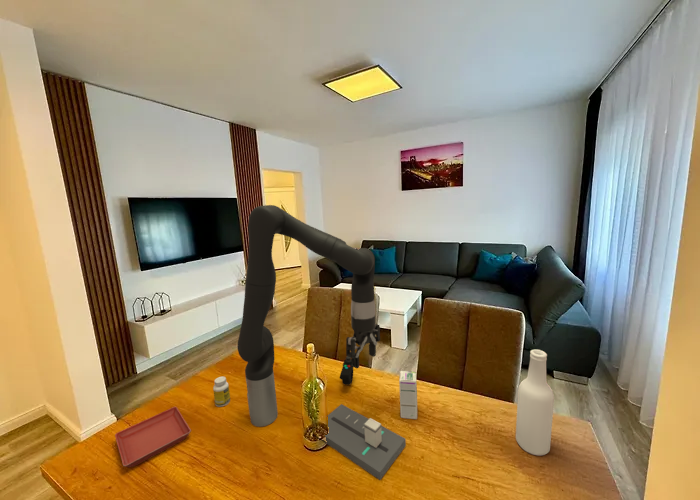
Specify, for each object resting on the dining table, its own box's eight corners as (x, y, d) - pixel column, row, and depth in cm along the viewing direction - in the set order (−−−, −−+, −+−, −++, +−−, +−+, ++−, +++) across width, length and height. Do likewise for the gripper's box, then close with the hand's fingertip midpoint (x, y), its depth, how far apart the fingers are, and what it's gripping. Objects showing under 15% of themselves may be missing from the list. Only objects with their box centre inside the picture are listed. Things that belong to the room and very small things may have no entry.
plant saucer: (177, 413, 110) (175, 405, 109) (193, 439, 97) (191, 430, 97) (116, 442, 97) (114, 433, 97) (125, 476, 85) (123, 467, 84)
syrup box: (417, 419, 100) (417, 381, 98) (399, 417, 102) (399, 379, 99) (417, 408, 106) (416, 371, 103) (400, 406, 107) (399, 370, 105)
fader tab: (364, 441, 89) (364, 423, 88) (370, 434, 91) (370, 417, 90) (376, 448, 86) (375, 430, 85) (381, 441, 89) (381, 423, 88)
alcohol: (545, 436, 91) (552, 346, 86) (554, 460, 83) (562, 362, 78) (512, 430, 94) (517, 343, 89) (518, 453, 86) (524, 358, 81)
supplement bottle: (226, 407, 111) (223, 383, 109) (212, 407, 111) (209, 384, 110) (232, 397, 117) (229, 375, 115) (219, 398, 117) (216, 375, 115)
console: (313, 434, 96) (313, 427, 96) (341, 410, 107) (341, 403, 106) (380, 480, 80) (379, 471, 79) (405, 445, 90) (405, 438, 90)
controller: (355, 375, 127) (354, 354, 125) (350, 394, 115) (348, 370, 113) (345, 374, 128) (344, 353, 126) (339, 393, 116) (338, 370, 114)
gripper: (367, 303, 99) (368, 348, 102) (338, 317, 88) (340, 367, 91) (386, 309, 94) (386, 355, 97) (357, 324, 83) (359, 376, 86)
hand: (364, 361), depth 94 cm, fingers open, 8 cm apart
